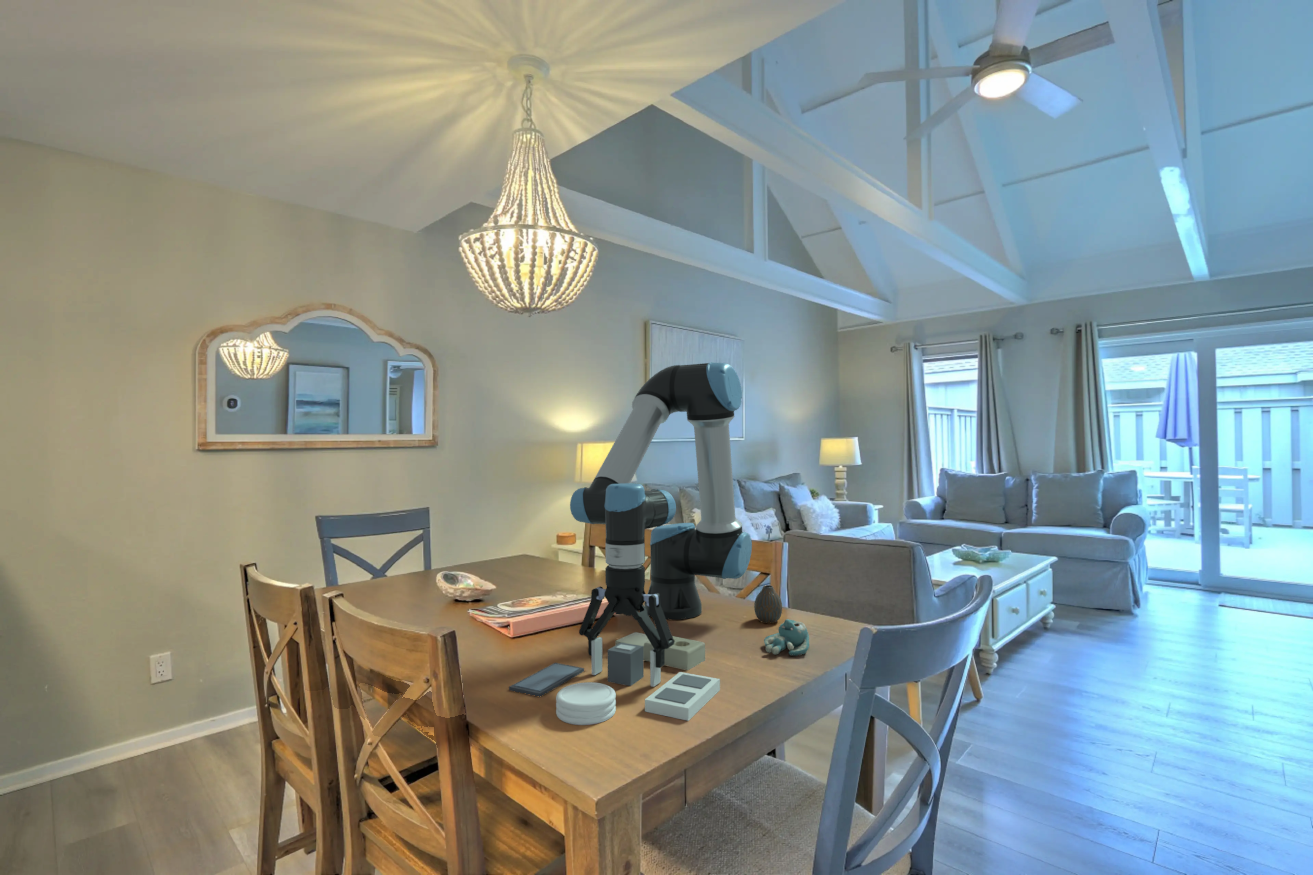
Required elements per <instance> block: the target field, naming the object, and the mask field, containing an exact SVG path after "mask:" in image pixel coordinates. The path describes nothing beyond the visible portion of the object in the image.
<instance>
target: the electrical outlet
mask: <svg viewBox="0 0 1313 875" xmlns="http://www.w3.org/2000/svg"><path fill="white" fill-rule="evenodd" d="M672 637H673V639H674V645H672V646H671V647H669V648H668V649H665V663H664V666H667V667H670V668H675V669H680V670H684V671H689V670H691V669H693V668H695V667H697V666H699V665H700V664H701V662H702V663H703V662H705V661H706V644H705V642H703V641H700V640H694V639H689V638H683V637H680V636H674V635H672ZM619 643H627V644H634V645H640V646H643V662H649V663H650V651H651V650H652V649H654V648H653V646H652V644H651V643H650V641H649V639H648V638H647V636H646V635H645V633H642V632H636V631H635V632H632V633H630V634H628V635H625V636H623V637H620V638H619V639H617V640H615V643H614V644H615V646H616V645H617V644H619Z"/></svg>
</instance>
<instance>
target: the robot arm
mask: <svg viewBox="0 0 1313 875" xmlns="http://www.w3.org/2000/svg"><path fill="white" fill-rule="evenodd" d="M742 398H743V390H742V386H741V382H740V378H739V375H738V373H737V371H736V370H735V368H734V367H733V366H732V365H731V364H729V363H726V362H705V363H693V364H682V365H681V364H676V365H670V366H667V367H665V368H663V369H661V370H660V371H658V372H657V373H655V374H654V375H653V376H652V377H650V378H649V379H647V381H646V382H645V383H644V384H643V385H642V386H641V387H640V389H639V390H638V392H637V393H636V395H635V396H634V398H633V399H632V400H633V401H632V402H631V407H632V410H631V412H630V414H629V415H628V417H627V420H625V423H624V424H623V426H622V428H621V430H620V432H619V434H618V436H617V438H615V441H614V443H613V444H612V447H611V448H610V450H609V452H608V453H607V455H606V457H605V459H604V460H603V462H602V464H601V466H600V468H599V470H598V472H597V473H596V475H595V477H594V479H593V481H592V482H591V484H590V485H589V487H588V486H587V487H580V488H577V490H574V492H573V493H572V494H571V498H570V502H569V509H570V513H571V515H572V518H574V520H576V522H579V523H587V524H591V525H595V524H596V525H597V524H598V525H605V563H606V565H607V566H606V567H605V585H606V588H603V586H597V587H595V588H593V589H591V593H590V594H591V595H590V601H589V605H588V607H587V610H586V613H585V615H584V618H583V620H582V623H581V625H580V628H579V630H578V632H579V633H578V634H579V636H584V637H586V639H587V640H588V641H587V645H588V646H587V652H588V656H589V657H590V656H591V675H592V676H596V675H597V674H599V673H601V672H603V637H600V636H601V633H602V631H603V630H604V628H605V627H606V626H607V624H608V623H609V622H610V620H611V618H612V617H613V616H614V615H624V616H627V617H631V616H632V618H633V619H634V620H635V621H636V622H637V623H638V625H639V627H640V628H641V630H642V631H643V634H645V635H646V636H647V638H648V639H649V641H650V643H651V644H652V646H653V648H654V649H652V650H651V651H650V662H649V664H650V665H649V667H650V668H649V671H650V673H649V674H650V676H649V677H650V680H649V681H650V687H653V688H655V687H656V686H657V685H658V684H660V683H661V682H662V681H661V680H662V679H661V678H662V677H661V674H662V673H661V672H662V668H663V667H664V666H665V665H664V663H665V649H668V648H669V647H671V646H672V645H674V639H673V637H672V636H673V634H672V631H671V629H670V626H669V624H668V621H667V620H673V621H674V620H687V619H691V618H695V617H698V616H700V615H702V612H703V610H702V609H703V607H702V606H703V605H702V601H701V598H700V594H699V591H698V589H697V585H696V582H695V581H696V580H695V579H696V577H695V576H699V577H700V576H701V577H708V578H709V577H710V578H711V577H712V578H718V579H722V580H726V579H731V580H732V579H733V580H737V579H740V578H741V577H743V576H744V575H745V573H746V572H747V570H748V568H749V564H750V561H751V557H752V556H751V555H752V550H753V549H752V548H753V544H752V543H753V542H752V541H753V540H752V538H751V534H749V533H748V532H746V531H743V524H742V522H741V521H740V520H739V519H738V518H737V517H736V510H735V495H734V493H735V492H734V479H733V464H732V453H731V450H732V449H731V438H730V425H729V424H730V423H731V422H732V420H734V418H735V411H737V410H739V409H740V407H741V404H742ZM678 412H681V413H683V412H686V420H687V422H689V423H690V424H691V425H692V426H693V430H694V443H695V454H696V455H695V457H696V468H697V471H696V472H697V479H698V480H697V481H698V482H697V483H698V496H699V506H700V520H699V522H698V523H697V524H696V525H695V524H694V523H693V522H679V523H670V522H671V521H672V520H673V519H674V517H675V515H676V512H677V505H676V500H675V498H674V497H673V495H672V494H671V493H670V492H669V491H668V490H664V489H654V488H653V489H651V490H650V489H649V490H645V487H644V486H643V485H642V484H640V483H633V482H632V480H633V478H634V476H635V474H636V472H637V471H638V468H639V467H640V464H641V462H642V461H643V459H644V456H646V455H645V454H646V453H647V451H648V449H649V447H650V445H651V443H652V441H653V439H654V437H655V435H656V433H657V431H658V430H659V427H660V425H661V424H664V423H665V422H667V421H668V419H669V417H670V415H671V414H674V413H678ZM668 523H670V524H668ZM652 528H653V529H652ZM647 529H652V530H651V532H650V540H649V541H650V543H649V546H650V584H649V589H648V591H647V593H646V590H645V584H646V568H645V566H644V565H643V564H645V562H646V552H645V551H646V548H645V543H646V541H645V540H646V538H645V537H646V536H645V535H646V533H645V532H646V530H647ZM604 599H606V601H607V605H606V607H605V608H604V609H603V611H602V614H601V615H600V616H599V618H598V619H597V620H596V618H597V616H598V612H599V611H600V607H601V605H602V604H603V600H604ZM651 617H652V619H651ZM595 620H596V621H595Z"/></svg>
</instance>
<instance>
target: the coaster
mask: <svg viewBox="0 0 1313 875" xmlns="http://www.w3.org/2000/svg"><path fill="white" fill-rule="evenodd" d="M616 697H617V694H616V691H615V689H614V688H612V686H609V685H607V684H605V683H600V682H595V681H594V682H592V681H591V682H587V681H586V682H578V683H577V682H576V683H573V684H569V685H567V686H565V687H562V688H561V689H560V690H559V691H558V692H557V693H556V696H555V702H556V703H555V707H556V709H555V714H556V717H557V718H558V719H559V721H560V720H561V722H563V723H566V724H570V725H576V726H589V725H597V724H601V723H603V722H605V721H608V720H610V719H611V718H613V716H614V715H615V713H616V710H617V707H616V704H617V701H616Z"/></svg>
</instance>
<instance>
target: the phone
mask: <svg viewBox="0 0 1313 875" xmlns="http://www.w3.org/2000/svg"><path fill="white" fill-rule="evenodd" d="M583 672H585V668H584V667H580V666H575V665H569V664H564V663H560V662H559V663H558V662H553V663H552V664H550V665H547V666H546V667H544V668H541V669H540V670H538V671H537V672H534V673H533V674H531V675H529V676H527V677H525V678H523V679H521V680H519V681H518V682H515V683H514V684H511V685H510V686H509V687H508V691H511V692H514V691H515V692H516V693H519V692H520V694H523V693H526V694H525V695H528V694H530V695H529V696H532V695H535V696H534V697H536V696H539V697H538V698H541V697H543V696H545V695H546V694H548V693H550V692H552V691H553V690H555V689H556V688H558V687H560V686H562V685H563V684H565V683H567V682H568V681H570V680H571V679H573V678H575V677H577V676H579V675H580V674H582V673H583ZM549 691H550V692H549ZM515 692H514V693H515ZM545 693H546V694H545ZM544 694H545V695H544ZM542 695H543V696H542ZM540 696H541V697H540Z"/></svg>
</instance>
